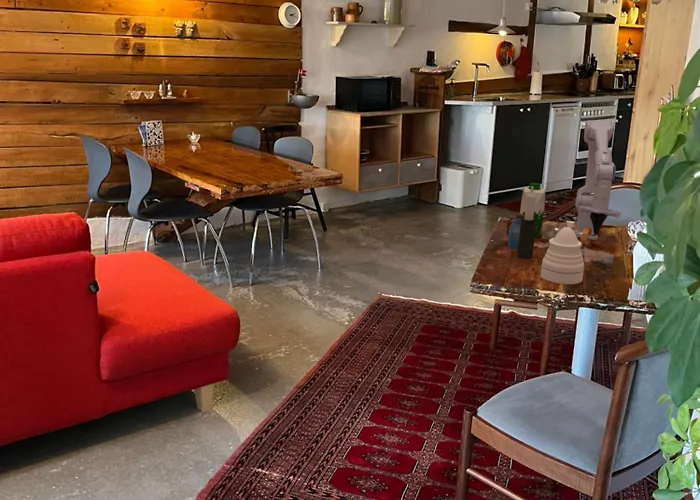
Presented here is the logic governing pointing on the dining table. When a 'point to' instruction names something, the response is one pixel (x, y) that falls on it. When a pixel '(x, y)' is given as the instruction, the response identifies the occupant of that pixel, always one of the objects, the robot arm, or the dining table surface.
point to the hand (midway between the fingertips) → (596, 233)
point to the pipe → (580, 234)
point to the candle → (527, 229)
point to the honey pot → (563, 258)
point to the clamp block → (549, 230)
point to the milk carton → (538, 205)
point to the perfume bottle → (515, 232)
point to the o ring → (586, 235)
